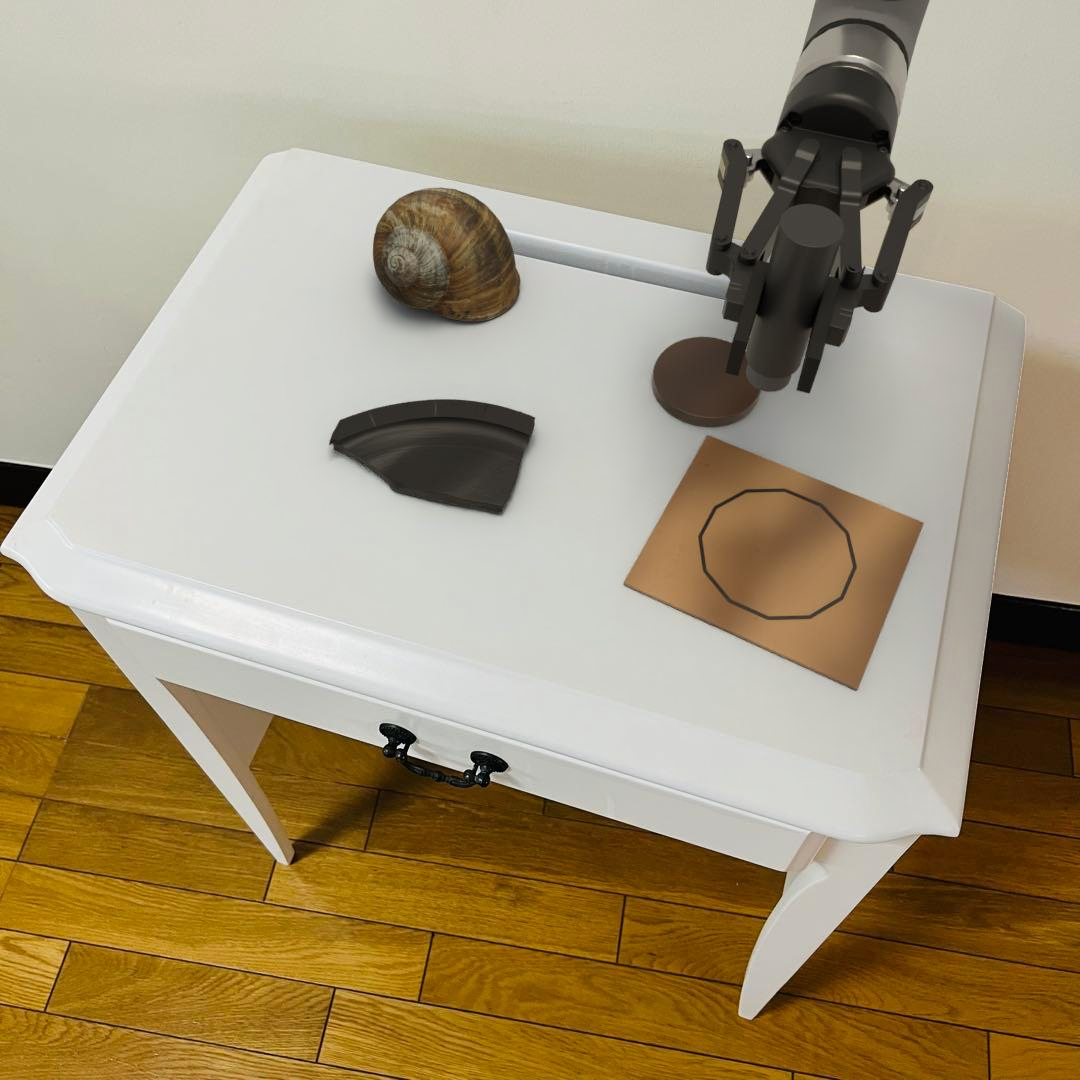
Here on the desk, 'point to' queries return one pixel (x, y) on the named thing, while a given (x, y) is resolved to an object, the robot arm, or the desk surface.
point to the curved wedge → (441, 449)
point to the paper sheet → (778, 559)
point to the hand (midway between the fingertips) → (772, 366)
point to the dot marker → (792, 293)
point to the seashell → (446, 255)
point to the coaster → (702, 383)
